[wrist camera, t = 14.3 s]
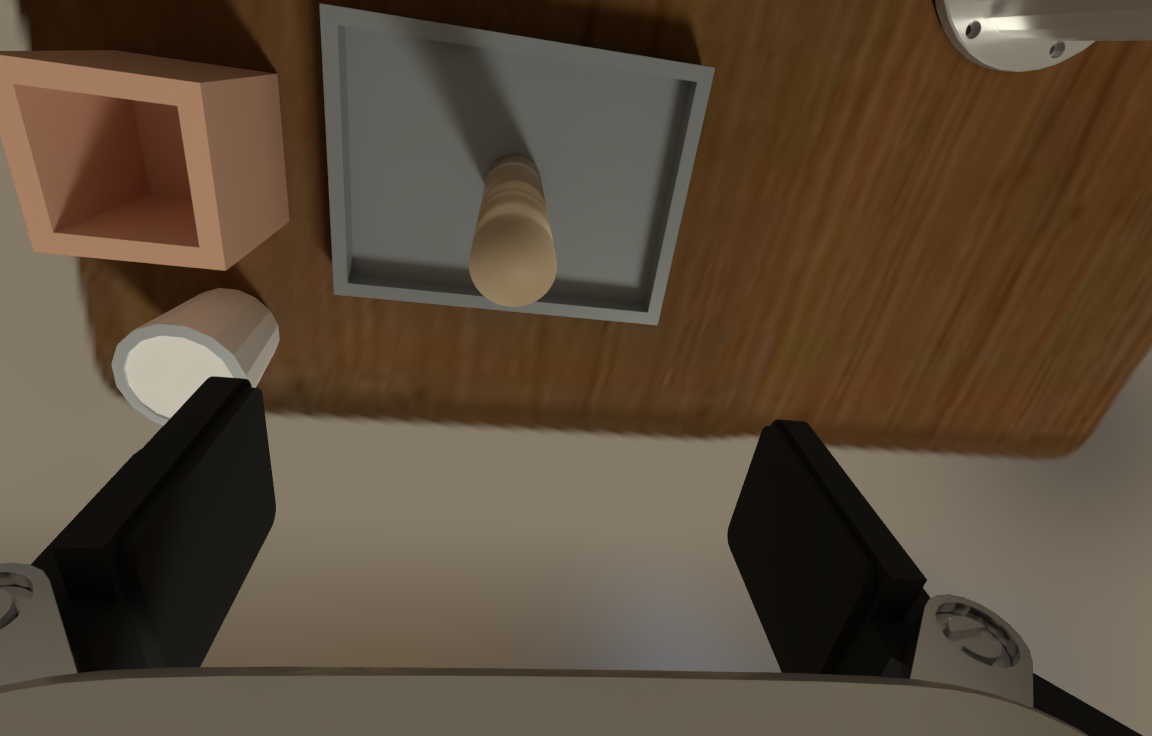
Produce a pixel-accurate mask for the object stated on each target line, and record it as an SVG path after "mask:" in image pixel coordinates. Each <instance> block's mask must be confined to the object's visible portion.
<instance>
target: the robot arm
mask: <svg viewBox="0 0 1152 736" xmlns="http://www.w3.org/2000/svg"><path fill="white" fill-rule="evenodd" d="M935 3H936V10H937V13H938V16H939V19H940V22H941V25H942V28H943V30H944V32H945V33H946V35H947V37H948V38H949V40H950V41H951V43H952V45H953V46H954V47H955V48H956V49H957V50H958V51H959V52H960V53H961V54H962V55H963V56H964V57H966V58H967V59H968V60H970V61H972V62H974V63H976V64H978V65H980V66H982V67H985V68H989V69H994V70H998V71H1014V72H1023V71H1030V70H1038V69H1042V68H1046V67H1049V66H1052V65H1055V64H1058V63H1060V62H1062V61H1064V60H1066V59H1068V58H1070V57H1072V56H1074V55H1076V54H1077V53H1079V52H1081V51H1083V50H1084V49H1085V48H1087V47H1088V46H1090V45H1091V44H1092V43H1094V42H1095V41H1110V40H1152V0H935ZM275 512H276V503H275V494H274V487H273V478H272V470H271V462H270V454H269V446H268V438H267V429H266V420H265V412H264V404H263V396H262V392H261V390H260V389H259V388H253V387H252V385H251V383H250V381H249V380H248V379H243V378H230V377H217V376H211V377H209V378H208V379H206V381H205V382H204V383H203V384H202V385H201V386H200V387H199V388H198V389H197V390H196V391H195V392H194V393H193V395H192V396H191V397H190V398H189V399H188V400H187V401H186V402H185V403H184V404H183V405H182V406H181V407H180V409H179V410H178V411H177V412H176V413H175V414H174V415H173V416H172V417H171V418H170V419H169V420H168V421H167V423H166V424H165V425H164V426H163V427H162V428H161V429H160V430H159V431H158V432H157V433H156V434H155V435H154V437H153V438H152V439H151V440H150V441H149V442H148V443H147V444H146V445H145V446H144V448H142V449H141V450H139V451H138V452H137V453H135V454H134V455H133V456H132V457H131V458H130V459H129V460H128V461H127V462H126V463H125V464H124V466H123V467H122V468H121V469H120V470H119V471H118V472H117V473H116V474H115V475H114V476H113V477H112V478H111V479H110V481H109V482H108V483H107V484H106V485H105V486H104V487H103V488H102V489H101V490H100V491H99V492H98V493H97V494H96V495H95V497H94V498H93V499H92V500H91V501H90V502H89V503H88V504H87V505H86V506H85V507H84V508H83V509H82V511H80V513H79V514H78V515H77V516H76V517H75V518H74V519H73V520H72V521H71V522H70V523H69V524H68V525H67V527H66V528H65V529H64V530H63V531H62V532H61V533H60V534H59V535H58V536H57V537H56V538H55V539H54V540H53V541H52V542H51V544H50V545H49V546H48V547H47V548H46V549H45V550H44V551H43V552H42V553H41V554H40V555H39V556H38V557H37V558H36V560H35V561H34V562H33V563H32V564H31V565H29V564H19V563H4V564H0V736H1142V735H1141V734H1139V733H1137V732H1135V731H1134V730H1132V729H1130V728H1128V727H1126V726H1125V725H1123V724H1121V723H1120V722H1118V721H1116V720H1114V719H1113V718H1111V717H1109V716H1107V715H1106V714H1104V713H1102V712H1100V711H1099V710H1097V709H1095V708H1093V707H1092V706H1090V705H1088V704H1086V703H1084V702H1083V701H1081V700H1079V699H1077V698H1076V697H1074V696H1073V695H1071V694H1069V693H1067V692H1065V691H1064V690H1062V689H1060V688H1059V687H1057V686H1055V685H1053V684H1052V683H1050V682H1048V681H1046V680H1045V679H1043V678H1041V677H1039V676H1038V675H1036V674H1034V673H1033V662H1032V658H1031V654H1030V650H1029V649H1028V647H1027V645H1026V644H1025V642H1024V640H1023V639H1022V637H1021V636H1020V635H1019V634H1018V633H1017V632H1016V631H1015V630H1014V629H1013V628H1012V626H1011V625H1010V624H1008V623H1007V622H1006V621H1004V620H1003V619H1002V618H1001V617H1000V616H998V615H997V614H996V613H994V612H992V611H991V610H989V609H987V608H985V607H984V606H982V605H981V604H979V603H976V602H974V601H971V600H969V599H966V598H964V597H959V596H954V595H937V596H935V597H933V598H930V597H929V595H928V594H927V593H926V591H925V590H924V589H923V586H924V584H925V582H926V581H927V579H926V578H925V577H924V575H923V574H922V573H921V571H920V570H919V569H918V568H917V566H916V565H915V563H914V562H913V561H912V559H911V558H910V557H909V556H908V554H907V553H906V552H905V550H904V549H903V548H902V546H901V545H900V544H899V542H898V541H897V540H896V539H895V537H894V536H893V535H892V533H891V532H890V531H889V529H888V528H887V527H886V525H885V524H884V523H883V521H882V520H881V519H880V517H879V516H878V515H877V514H876V512H875V511H874V510H873V508H872V507H871V506H870V504H869V503H868V502H867V500H866V499H865V498H864V496H863V495H862V494H861V493H860V491H859V490H858V489H857V487H856V486H855V485H854V483H853V482H852V481H851V479H850V478H849V477H848V475H847V474H846V473H845V472H844V470H843V469H842V468H841V466H840V465H839V464H838V462H837V461H836V460H835V458H834V457H833V456H832V454H831V453H830V452H829V451H828V449H827V448H826V447H825V445H824V444H823V443H822V441H821V440H820V439H819V437H818V436H817V435H816V433H815V432H814V431H813V429H812V428H811V427H810V426H809V424H807V423H806V422H803V421H791V420H778V419H777V420H775V421H774V422H773V423H772V424H771V426H766V427H765V428H764V429H763V430H762V432H761V435H760V438H759V441H758V444H757V447H756V450H755V452H754V455H753V459H752V461H751V464H750V467H749V470H748V473H747V475H746V479H745V481H744V484H743V487H742V490H741V493H740V496H739V498H738V501H737V504H736V507H735V510H734V513H733V516H732V519H731V522H730V525H729V528H728V544H729V547H730V550H731V552H732V554H733V557H734V559H735V562H736V564H737V566H738V569H739V571H740V574H741V576H742V578H743V580H744V583H745V586H746V588H747V590H748V593H749V595H750V597H751V600H752V602H753V605H754V607H755V609H756V612H757V614H758V616H759V619H760V621H761V624H762V626H763V629H764V631H765V633H766V636H767V638H768V640H769V643H770V645H771V648H772V650H773V652H774V655H775V657H776V660H777V662H778V664H779V667H780V669H781V672H782V673H767V672H766V673H765V672H712V671H661V670H594V669H518V668H517V669H516V668H515V669H514V668H422V667H416V668H415V667H414V668H413V667H200V666H201V664H202V662H203V660H204V658H205V656H206V654H207V652H208V651H209V649H210V647H211V644H212V643H213V641H214V638H215V637H216V635H217V633H218V631H219V629H220V627H221V625H222V623H223V621H224V619H225V617H226V615H227V613H228V611H229V609H230V607H231V606H232V604H233V602H234V600H235V598H236V596H237V594H238V591H239V590H240V588H241V586H242V584H243V582H244V580H245V578H246V576H247V574H248V572H249V570H250V568H251V566H252V564H253V562H254V560H255V559H256V557H257V555H258V553H259V551H260V549H261V547H262V545H263V543H264V541H265V539H266V537H267V535H268V533H269V531H270V529H271V527H272V525H273V522H274V519H275Z"/></svg>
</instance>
